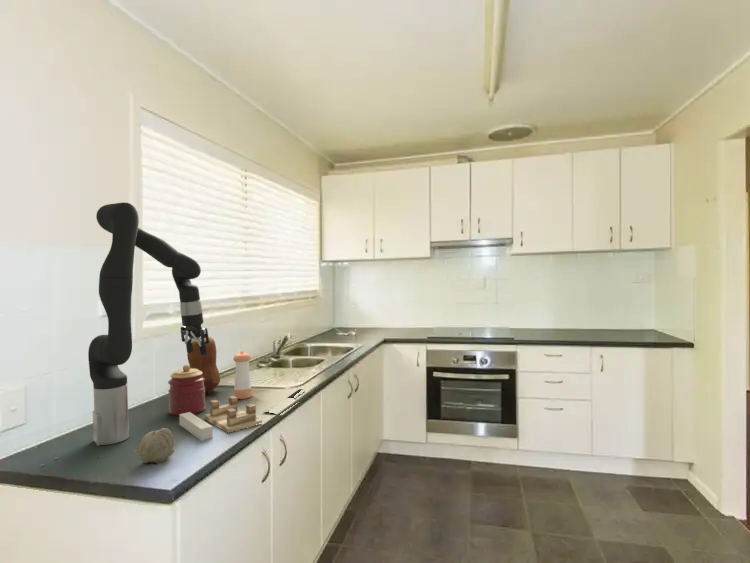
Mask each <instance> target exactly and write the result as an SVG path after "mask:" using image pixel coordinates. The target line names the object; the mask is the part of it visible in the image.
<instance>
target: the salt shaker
mask: <svg viewBox="0 0 750 563" xmlns="http://www.w3.org/2000/svg"><path fill="white" fill-rule="evenodd" d="M251 358H252V356H251V354H250V353H247V352H245V351H244V350H243V351H240V352H239V353H236V354H234V356H233V361H234V362H235V375H234V388H233V396H235V397H237V400H238V399H239V400H243V399H249V398H251V397H252V396H253V389H252V386H251V385H252V379H251V373H250V360H251Z"/></svg>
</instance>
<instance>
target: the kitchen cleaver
mask: <svg viewBox="0 0 750 563" xmlns="http://www.w3.org/2000/svg"><path fill="white" fill-rule="evenodd" d="M301 390H304V389H302V388H300V389H297V390H296V391H294V392H293V393H292V394H291V395H289V396H287V397H286V399H287V398H294V396H295V395H296V394H297V393H299V392H300V391H301ZM278 404H279V403H277V404H275V405H272V406H271V407H269V408H265V409H263V410H262V412H263V413H265V412H268V411H267V410H271V409H273V408H274V407H275V406H277V405H278ZM297 404H298V403H296V404H295V405H293V406H292V407H290V408H289V409H287V410H286V411H284V412H283V413H281V414H280V415H279V416H284V415H285V414H286V413H288V412H289V411H290V410H291V409H292V408H293V407H294V406H296V405H297Z"/></svg>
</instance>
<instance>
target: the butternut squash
mask: <svg viewBox="0 0 750 563" xmlns="http://www.w3.org/2000/svg"><path fill="white" fill-rule="evenodd" d="M208 337H209V343H208V344H206V355H203V356H202V355H200V348H199V344H198V342H196V341H195V339H193V340H192V342H191V343H192V346H193V352H191V353H187V352H186V354H187V355H186V356H187V362H188V365H189V366H190V369H198V370H199V371H202V372H203V373H202V374H201V375H202V376H203V377H204V378H205V380H204V386H205V395H208V394H210V393H212V392H213V391H214V390H215V389H216V388H217V387H218V385H219V384H220V383H221V374H220V371H219V369H218V367H217V346H216V341H215V339H214V338H213V337H212V336H209V335H208ZM204 339H205V341H206V338H204ZM201 343H202V341H201Z"/></svg>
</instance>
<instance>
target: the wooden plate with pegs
mask: <svg viewBox="0 0 750 563" xmlns="http://www.w3.org/2000/svg"><path fill="white" fill-rule="evenodd" d="M238 403H239V402H238V399H237V397H235V396H234V395H231V396H228V403H227V404H226V403H225V404H221V405H220V401H219V400H217V399H212V400H209V412H210V413H207V414H204V420H205V421H206V422H208V423H211V424H213V425H214V426H216V427H217V428H219V429H221V430H222V429H223V431H224V432H225V431H226V433H227V432H228V433H227V434H230V433H229V432H232V433H234V432H233V431H236V432H238V431H237V430H239V431H241V430H240V429H243V428H247V427H250V428H252V427H251V426H253V425H256V424H259V423H262V424H263V420H262V419H260V418H258V417H256V416H257V415H256V413H257V411H256V405H255V404H253V403H250V404H246V405H245V410H246V411H245V410H243V409H241V408H238V407H239V406H238ZM247 429H248V428H247ZM243 430H244V429H243Z"/></svg>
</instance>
